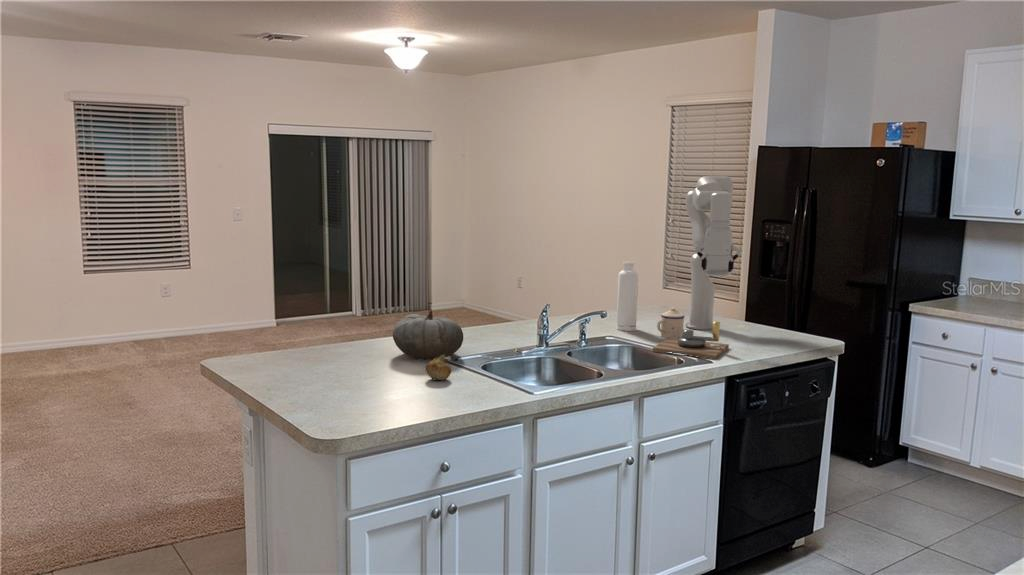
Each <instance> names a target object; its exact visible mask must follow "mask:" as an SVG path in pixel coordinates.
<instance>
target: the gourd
mask: <svg viewBox="0 0 1024 575" xmlns="http://www.w3.org/2000/svg"><path fill="white" fill-rule="evenodd" d="M392 339H393V341H394V344H395V345H396V348H398V349H399V350H400V351H401V352H402V353H403V354H405V355H406V356H409V357H410V358H412V359H415V360H418V359H422V361H423V360H426V359H429V360H434V359H435V358H438V357H440V356H441V355H446V356H445V357H449V356H450V357H451V356H452V355H454V354H455V353H457V351H459V349H461V347H462V345H463V342H464V332H463V329H462V327H461V326H460V325H459V324H458V323H457V322H455V321H454V320H452V319H451V318H446V317H443V316H433V309H430V310H429V312H428V314H427V316H426V315H420V314H418V313H414V314H413V313H412V314H408V315H406V316H404V317H403V318H402V319H401V320H399V321H398V322H397V323H396V325H395V326H394V328H393V332H392Z"/></svg>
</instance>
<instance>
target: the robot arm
mask: <svg viewBox="0 0 1024 575" xmlns="http://www.w3.org/2000/svg"><path fill="white" fill-rule="evenodd" d="M733 190H734V183H733V180H732V179H731V177H730V176H727V175H706V176H702V177H700V178H698V179H697V182H696V187H695V189H694V190H690V191H688V192H687V193H686V196H685V209H686V213H687V216H688V218H689V220H690V224H691V236H692V237H691V238H692V239H691V240H692V247H693V249H694V251H695V254H693V255H692V256H691V257H690V261H689V262H690V263H689V266H690V274H691V275H690V276H691V280H690V281H691V284H690V285H691V286H690V288H691V289H690V303H689V304H690V306H689V307H690V308H689V321H687V322H686V323H685V327H686V328H688V329H690V330H697V331H698V330H700V331H710V330H711V331H713V322H714V321H713V320H714V307H715V306H714V302H715V285H714V283H713V281H712V280H711V279H710V277H728V276H730V275H732V274H733V271H734V263H735V261H736V259H738V258H739V256H740V255H741V254H742V249H741V248H739V247H737V246H736V245H734V244H733V232H732V229H730V228H731V212H732V211H731V210H732V206H733V196H732V195H733V192H734V191H733ZM704 211H708V212H709V216H708V214H707V213H705V212H704ZM733 250H734V251H735V252H736V253H735V254H734V252H733ZM733 254H734V255H733Z"/></svg>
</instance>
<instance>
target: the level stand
mask: <svg viewBox="0 0 1024 575" xmlns="http://www.w3.org/2000/svg"><path fill="white" fill-rule="evenodd" d="M729 347H730V346H729V344H728V343H720V342H714V341H706V343H705V346H703V347H686V346H681V345H679V344H678V338H670V337H669V338H665V339H664V340H662V341H661V342H659V343H658V344H656V345H655V346H653V347H652V352H653V353H654V352H655V353H660V354H661V353H662V354H665V353H664V352H672V353H681V354H687V355H692V356H698V357H697V358H700V357H706V358H705V359H708V358H712V359H711V360H717V359H718V358H720V357H721V355H723V354H724V353H725V352H726V351H727V350H728V349H729ZM722 353H723V354H722ZM692 356H691V357H692ZM716 358H717V359H716Z"/></svg>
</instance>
